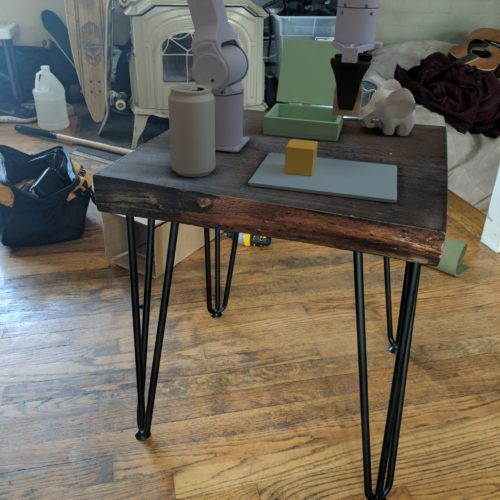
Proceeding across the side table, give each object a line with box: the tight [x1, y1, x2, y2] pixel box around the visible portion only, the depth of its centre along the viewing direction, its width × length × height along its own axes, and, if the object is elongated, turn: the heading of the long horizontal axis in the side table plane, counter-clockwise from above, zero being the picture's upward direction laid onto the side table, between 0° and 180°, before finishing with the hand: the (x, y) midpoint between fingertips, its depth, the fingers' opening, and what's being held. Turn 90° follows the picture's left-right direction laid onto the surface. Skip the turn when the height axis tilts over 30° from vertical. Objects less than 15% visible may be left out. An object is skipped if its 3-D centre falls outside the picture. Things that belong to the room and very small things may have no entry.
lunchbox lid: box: [276, 38, 342, 107], centre depth 101 cm, size 12×13×3 cm
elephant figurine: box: [358, 78, 423, 137], centre depth 95 cm, size 10×12×9 cm
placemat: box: [247, 151, 398, 204], centre depth 75 cm, size 20×14×1 cm
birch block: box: [332, 83, 365, 118], centre depth 77 cm, size 4×4×4 cm
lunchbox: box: [262, 102, 345, 142], centre depth 96 cm, size 11×13×3 cm
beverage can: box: [167, 83, 216, 178], centre depth 73 cm, size 6×6×12 cm
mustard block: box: [284, 138, 319, 176], centre depth 75 cm, size 4×4×4 cm
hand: (346, 106), depth 78 cm, fingers closed on birch block, 4 cm apart
